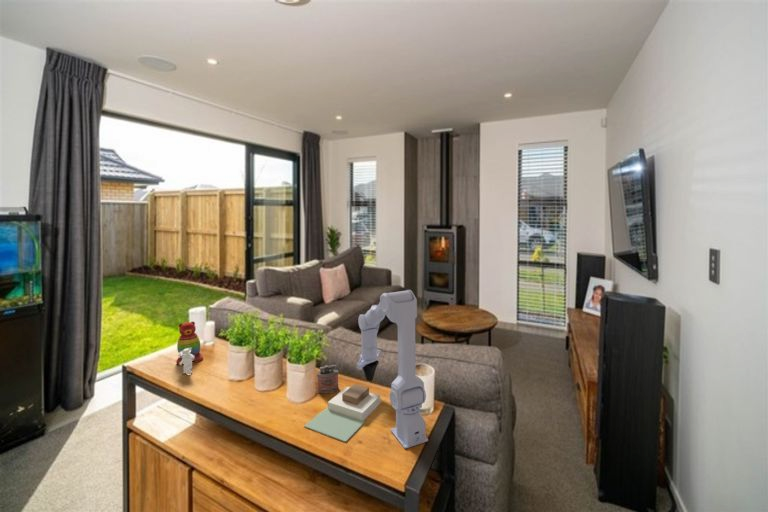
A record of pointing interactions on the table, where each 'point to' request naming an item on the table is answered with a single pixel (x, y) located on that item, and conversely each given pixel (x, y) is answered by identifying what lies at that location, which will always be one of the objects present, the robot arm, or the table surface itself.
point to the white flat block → (354, 410)
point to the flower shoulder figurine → (186, 360)
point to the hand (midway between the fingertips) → (369, 380)
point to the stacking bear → (189, 341)
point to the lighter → (327, 379)
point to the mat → (335, 425)
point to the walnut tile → (355, 394)
